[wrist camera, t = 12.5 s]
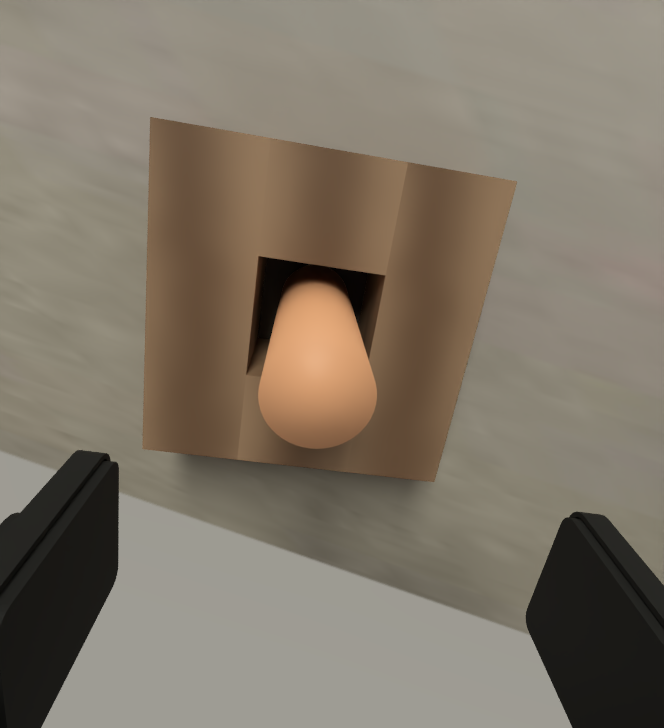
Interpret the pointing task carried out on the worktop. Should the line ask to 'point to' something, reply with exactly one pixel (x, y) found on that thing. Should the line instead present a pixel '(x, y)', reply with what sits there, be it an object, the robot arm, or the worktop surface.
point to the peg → (316, 364)
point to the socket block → (319, 247)
